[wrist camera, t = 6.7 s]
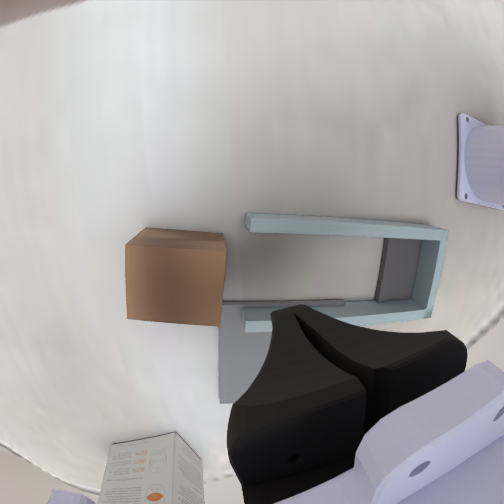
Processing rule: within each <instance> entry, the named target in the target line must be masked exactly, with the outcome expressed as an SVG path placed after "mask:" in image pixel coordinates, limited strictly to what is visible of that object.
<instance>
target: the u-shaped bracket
mask: <svg viewBox="0 0 504 504" xmlns="http://www.w3.org/2000/svg"><path fill="white" fill-rule="evenodd" d="M245 226H246V227H247V229H248V230H249V231H250V232H256V233H288V234H316V235H341V236H363V237H384V238H385V239H384V246H383V253H382V260H381V266H380V272H379V278H378V284H377V289H376V294H375V299H374V300H373V301H355V302H345V305H342V306H321V307H310V308H313V309H315V310H317V311H319V312H321V313H323V314H326V315H328V316H330V317H333V318H335V319H338V320H340V321H343V322H346V323H349V324H352V325H356V326H366V325H376V324H385V323H393V322H401V321H409V320H416V319H424V318H430V317H431V314H432V310H433V306H434V302H435V298H436V294H437V290H438V286H439V281H440V277H441V272H442V267H443V261H444V256H445V250H446V244H447V238H448V230H445V229H441V228H438V227H434V226H431V225H424V224H413V223H402V222H391V221H379V220H366V219H352V218H337V217H321V216H303V215H284V214H260V213H246V217H245ZM279 309H283V308H242V322H243V326H244V330H245V332H272V322H271V316H270V314H271V313H272V311H275V310H279Z"/></svg>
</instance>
